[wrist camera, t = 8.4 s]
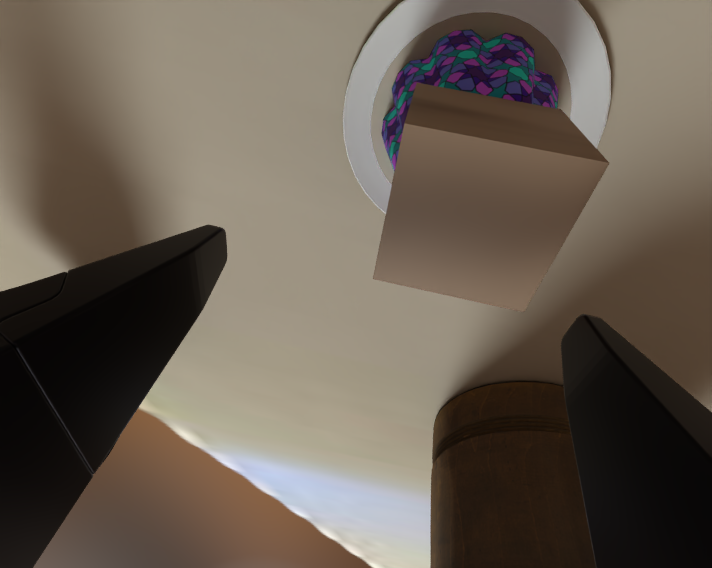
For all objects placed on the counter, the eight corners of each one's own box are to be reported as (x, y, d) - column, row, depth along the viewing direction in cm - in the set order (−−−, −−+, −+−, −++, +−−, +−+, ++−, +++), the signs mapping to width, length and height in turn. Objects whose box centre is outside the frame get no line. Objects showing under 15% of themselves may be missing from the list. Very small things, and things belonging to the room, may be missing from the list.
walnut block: (505, 233, 16) (524, 312, 12) (390, 209, 16) (372, 278, 13) (560, 109, 13) (609, 163, 9) (416, 82, 13) (404, 123, 9)
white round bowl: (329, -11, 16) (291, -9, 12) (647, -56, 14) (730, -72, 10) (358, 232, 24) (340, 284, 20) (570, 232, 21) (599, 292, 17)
